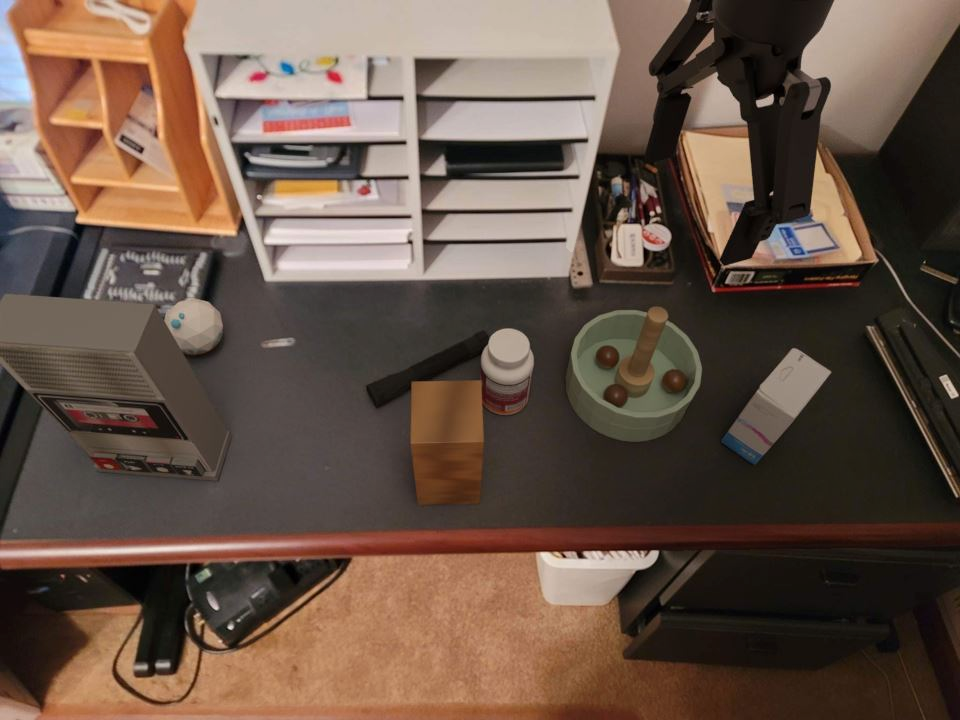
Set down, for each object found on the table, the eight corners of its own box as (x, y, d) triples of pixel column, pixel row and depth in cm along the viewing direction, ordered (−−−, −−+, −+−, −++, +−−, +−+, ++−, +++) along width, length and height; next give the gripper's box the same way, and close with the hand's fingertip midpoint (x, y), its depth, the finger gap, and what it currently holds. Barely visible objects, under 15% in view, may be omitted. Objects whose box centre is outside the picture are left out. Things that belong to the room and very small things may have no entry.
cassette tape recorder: (97, 474, 79) (-30, 348, 59) (117, 427, 83) (3, 292, 62) (218, 484, 79) (132, 360, 58) (232, 436, 83) (157, 303, 62)
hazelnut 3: (673, 399, 87) (694, 388, 86) (664, 395, 85) (685, 383, 83) (663, 378, 88) (684, 367, 87) (654, 374, 86) (675, 362, 85)
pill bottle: (491, 367, 89) (495, 314, 80) (536, 385, 88) (545, 333, 79) (470, 405, 86) (472, 354, 77) (516, 424, 84) (524, 375, 75)
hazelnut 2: (624, 415, 85) (637, 396, 83) (605, 412, 83) (617, 394, 82) (613, 398, 87) (625, 380, 85) (594, 395, 86) (606, 377, 84)
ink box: (755, 468, 82) (795, 418, 72) (719, 442, 84) (753, 390, 74) (791, 422, 86) (834, 369, 76) (755, 398, 87) (792, 343, 78)
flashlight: (367, 393, 86) (364, 380, 84) (479, 338, 92) (480, 324, 89) (378, 411, 85) (375, 399, 82) (492, 354, 90) (493, 340, 88)
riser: (477, 448, 83) (481, 379, 70) (480, 503, 79) (484, 441, 66) (418, 449, 82) (411, 381, 70) (417, 505, 78) (410, 443, 66)
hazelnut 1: (626, 363, 88) (618, 365, 85) (604, 371, 90) (596, 373, 87) (618, 341, 88) (610, 342, 86) (596, 349, 90) (588, 350, 87)
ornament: (179, 323, 92) (157, 283, 85) (234, 321, 92) (217, 282, 85) (169, 366, 88) (145, 328, 81) (226, 364, 88) (207, 326, 82)
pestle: (651, 398, 86) (681, 330, 75) (616, 398, 86) (641, 330, 74) (646, 368, 89) (674, 298, 77) (612, 368, 88) (635, 298, 77)
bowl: (710, 420, 86) (726, 394, 81) (597, 458, 82) (606, 433, 77) (651, 325, 94) (662, 297, 89) (546, 356, 90) (551, 328, 85)
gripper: (644, -115, 51) (596, 129, 68) (860, 81, 38) (733, 321, 55) (733, -128, 52) (664, 114, 70) (970, 56, 39) (812, 297, 57)
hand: (694, 206), depth 63 cm, fingers open, 13 cm apart
